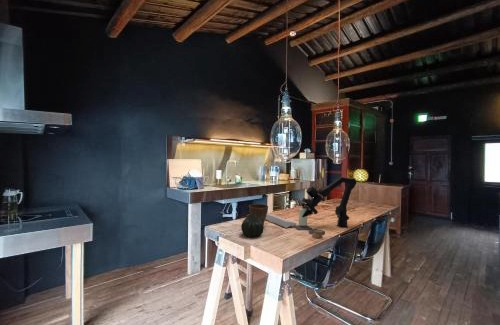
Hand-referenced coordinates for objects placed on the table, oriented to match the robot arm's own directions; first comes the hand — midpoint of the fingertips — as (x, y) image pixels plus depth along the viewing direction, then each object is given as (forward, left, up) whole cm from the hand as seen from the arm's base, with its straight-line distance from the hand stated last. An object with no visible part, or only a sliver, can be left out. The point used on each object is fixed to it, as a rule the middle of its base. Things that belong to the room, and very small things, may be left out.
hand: (301, 216), depth 190 cm
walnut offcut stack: (-4, +22, -9) cm, 24 cm away
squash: (+40, +17, -9) cm, 44 cm away
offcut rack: (-7, +14, -9) cm, 18 cm away
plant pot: (+33, -4, -9) cm, 34 cm away
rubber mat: (-1, 0, -9) cm, 9 cm away
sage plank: (-1, 0, -7) cm, 7 cm away
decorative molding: (+15, -16, -9) cm, 24 cm away
